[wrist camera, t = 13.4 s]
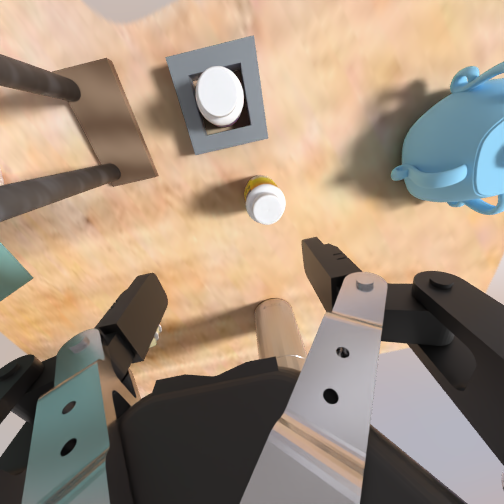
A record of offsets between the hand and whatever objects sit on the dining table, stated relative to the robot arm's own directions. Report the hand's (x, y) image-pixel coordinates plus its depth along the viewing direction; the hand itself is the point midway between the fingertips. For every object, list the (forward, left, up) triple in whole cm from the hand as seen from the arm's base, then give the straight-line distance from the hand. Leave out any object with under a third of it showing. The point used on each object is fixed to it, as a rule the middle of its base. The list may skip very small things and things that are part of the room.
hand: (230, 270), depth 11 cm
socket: (+10, -1, -26) cm, 28 cm away
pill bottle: (+10, -1, -27) cm, 28 cm away
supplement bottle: (-3, -4, -27) cm, 27 cm away
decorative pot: (-2, -34, -27) cm, 43 cm away
